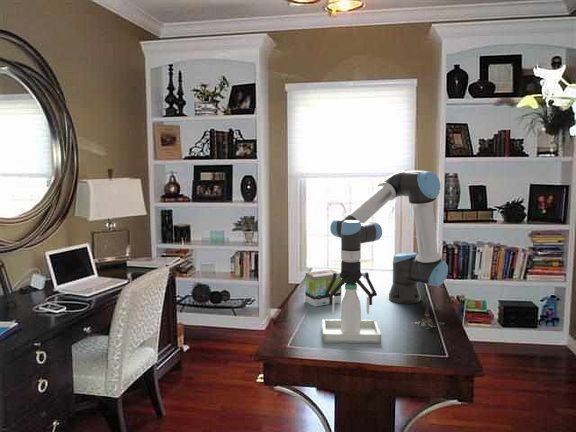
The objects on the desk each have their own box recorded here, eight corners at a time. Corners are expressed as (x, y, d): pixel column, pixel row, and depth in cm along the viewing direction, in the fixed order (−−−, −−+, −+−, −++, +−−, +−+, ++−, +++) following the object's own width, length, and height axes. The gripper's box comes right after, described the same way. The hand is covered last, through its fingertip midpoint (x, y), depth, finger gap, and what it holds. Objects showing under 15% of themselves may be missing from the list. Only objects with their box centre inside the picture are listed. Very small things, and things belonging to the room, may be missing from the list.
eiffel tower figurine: (444, 324, 202) (445, 293, 200) (446, 332, 192) (447, 300, 191) (408, 321, 206) (409, 291, 204) (408, 329, 196) (409, 298, 194)
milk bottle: (360, 337, 185) (360, 287, 182) (340, 335, 186) (340, 286, 184) (361, 329, 192) (361, 281, 190) (341, 328, 194) (342, 280, 191)
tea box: (315, 307, 224) (315, 277, 222) (304, 301, 233) (304, 272, 231) (341, 302, 231) (342, 272, 229) (330, 297, 240) (330, 268, 238)
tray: (375, 328, 197) (375, 319, 196) (381, 343, 181) (381, 334, 181) (322, 327, 198) (322, 319, 198) (323, 342, 182) (323, 334, 182)
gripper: (318, 262, 183) (319, 315, 185) (384, 262, 181) (383, 316, 184) (318, 258, 190) (318, 309, 193) (381, 258, 189) (381, 309, 191)
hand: (350, 312), depth 188 cm, fingers open, 13 cm apart
